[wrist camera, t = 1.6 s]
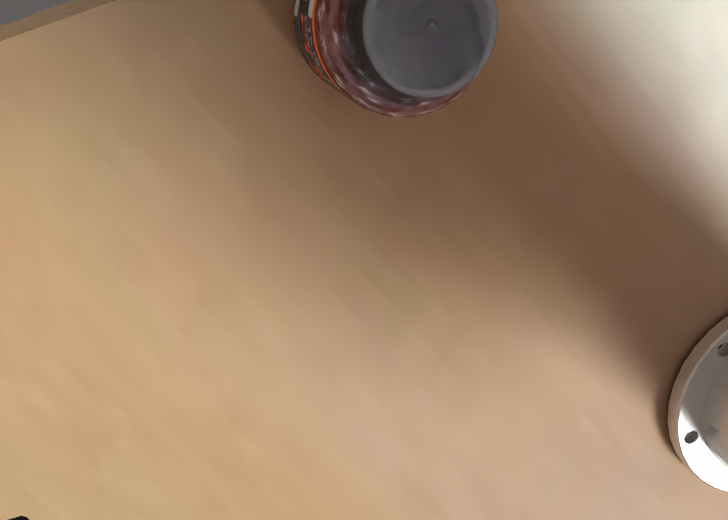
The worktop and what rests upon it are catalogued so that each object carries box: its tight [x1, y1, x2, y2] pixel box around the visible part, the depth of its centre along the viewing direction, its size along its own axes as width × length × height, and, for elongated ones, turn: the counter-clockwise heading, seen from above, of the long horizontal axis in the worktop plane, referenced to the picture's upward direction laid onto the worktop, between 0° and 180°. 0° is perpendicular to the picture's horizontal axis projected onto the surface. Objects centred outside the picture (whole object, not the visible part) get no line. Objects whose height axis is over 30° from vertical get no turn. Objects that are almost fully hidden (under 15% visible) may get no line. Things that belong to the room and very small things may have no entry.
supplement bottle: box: [294, 0, 498, 117], centre depth 25 cm, size 6×6×11 cm
